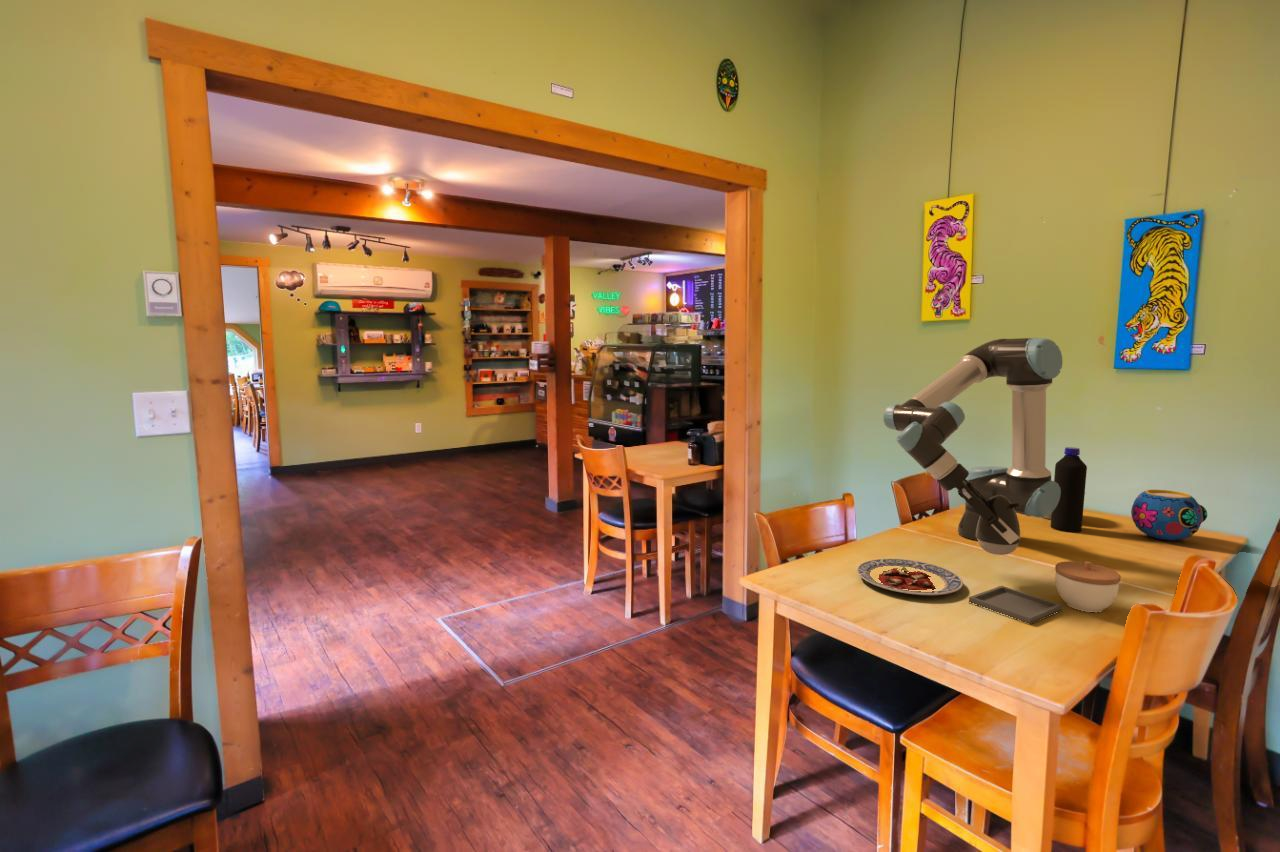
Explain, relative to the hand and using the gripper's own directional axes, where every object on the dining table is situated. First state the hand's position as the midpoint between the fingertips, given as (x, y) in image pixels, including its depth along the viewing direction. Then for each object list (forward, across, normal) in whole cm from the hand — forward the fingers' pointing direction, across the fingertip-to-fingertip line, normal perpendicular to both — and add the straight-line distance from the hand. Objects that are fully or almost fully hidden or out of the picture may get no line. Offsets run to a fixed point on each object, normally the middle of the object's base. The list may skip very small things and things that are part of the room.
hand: (1011, 534), depth 161 cm
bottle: (+28, -65, +7) cm, 71 cm away
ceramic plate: (-8, +10, -27) cm, 29 cm away
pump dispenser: (+1, 0, -6) cm, 6 cm away
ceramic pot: (+47, -65, +26) cm, 84 cm away
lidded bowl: (+20, +10, +1) cm, 22 cm away
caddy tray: (+9, +17, -10) cm, 21 cm away
